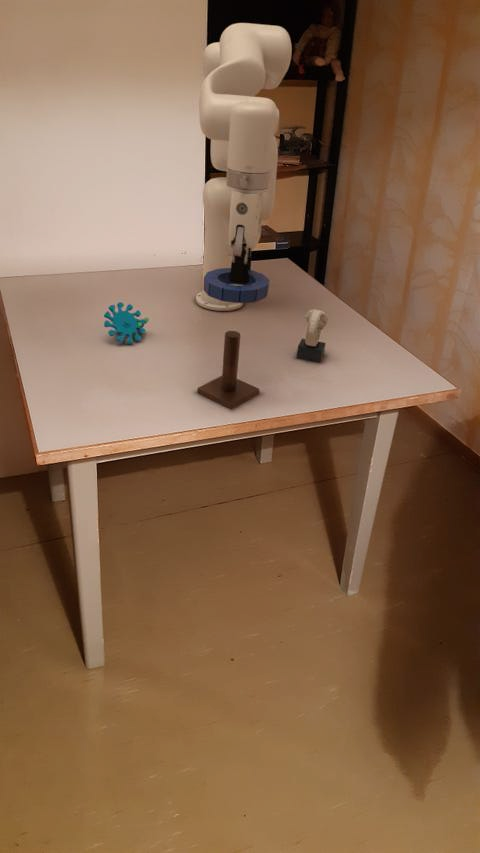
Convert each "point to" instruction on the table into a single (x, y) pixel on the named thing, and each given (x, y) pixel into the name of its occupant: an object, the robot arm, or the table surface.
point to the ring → (221, 290)
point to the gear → (125, 323)
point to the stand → (229, 378)
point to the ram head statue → (313, 337)
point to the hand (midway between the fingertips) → (240, 279)
